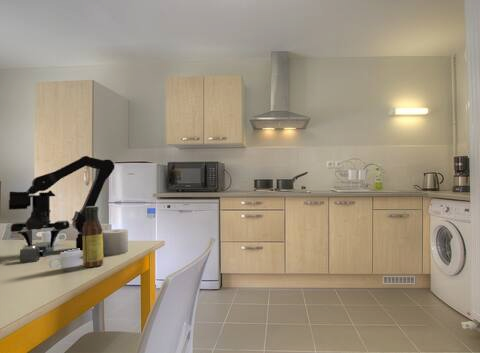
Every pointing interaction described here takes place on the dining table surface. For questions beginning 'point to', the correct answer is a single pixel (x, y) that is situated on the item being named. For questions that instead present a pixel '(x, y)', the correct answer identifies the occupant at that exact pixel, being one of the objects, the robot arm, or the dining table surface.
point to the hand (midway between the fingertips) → (41, 248)
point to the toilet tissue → (115, 242)
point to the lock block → (44, 248)
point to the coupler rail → (30, 254)
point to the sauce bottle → (92, 238)
